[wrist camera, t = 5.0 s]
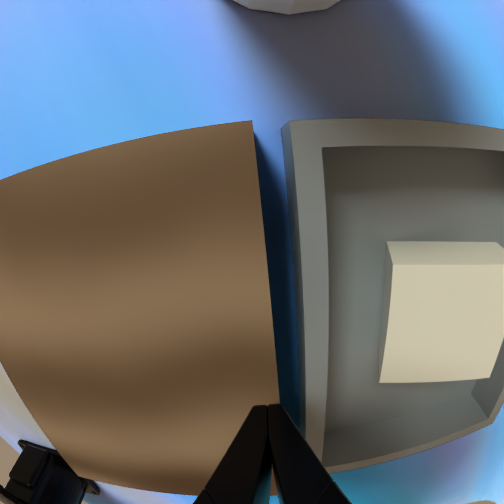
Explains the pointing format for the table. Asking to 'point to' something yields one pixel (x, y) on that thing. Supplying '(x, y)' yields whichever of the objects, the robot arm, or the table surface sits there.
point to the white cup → (287, 5)
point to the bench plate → (140, 304)
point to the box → (381, 274)
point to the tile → (441, 311)
